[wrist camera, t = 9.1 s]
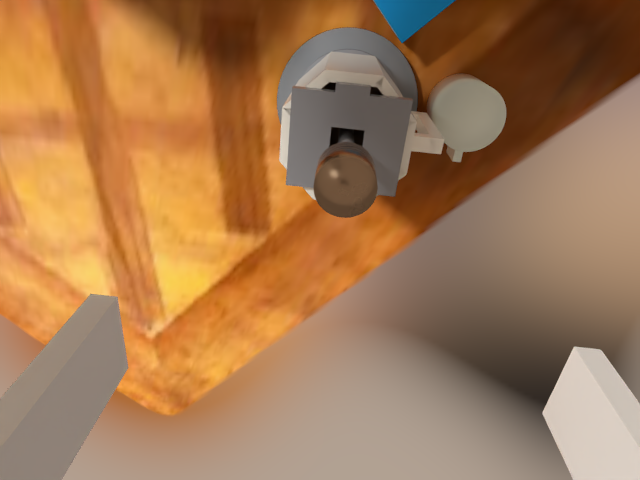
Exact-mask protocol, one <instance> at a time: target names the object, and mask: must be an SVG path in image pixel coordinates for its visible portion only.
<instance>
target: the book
mask: <svg viewBox="0 0 640 480" xmlns="http://www.w3.org/2000/svg"><path fill="white" fill-rule="evenodd" d="M373 1H374V3H375V4H376V6H377V7H378V9H379V10H380V12H381V13H382V15H383V17H384V18H385V20H386V21H387V23H388V24H389V26H390V27H391V29H392V30H393V32H394V33H395V35H396V36H397V37H398V38H399V40H400V41H401V43H403V42H404V41H406V40H407V39H408V38H409V37H411V36H412V35H413V34H414V33H416V32H417V31H418V30H419V29H421V28H422V27H423V26H424V25H425V24H427V23H428V22H429V21H430V20H432V19H433V18H434V17H435V16H437V15H438V14H439V13H440V12H442V11H443V10H444V9H445V8H447V7H448V6H449V5H450V4H452V3H453V2H454V1H455V0H373Z"/></svg>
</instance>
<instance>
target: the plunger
mask: <svg viewBox="0 0 640 480" xmlns="http://www.w3.org/2000/svg"><path fill="white" fill-rule="evenodd" d="M313 189H314V195H315V198H316V200H317V202H318V204H319V205H320V206H321V207H322V208H323V209H324V210H325V211H326V212H328V213H329V214H331V215H334V216H337V217H345V218H346V217H354V216H357V215H359V214H362V213H363V212H365V211H366V210H367V209H368V208H369V207H370V206H371V205H372V204H373V202H374V200H375V198H376V195H377V190H378V185H377V178H376V172H375V165H374V161H373V159H372V157H371V155H370V154H369V152H368V151H367V150H366V149H365V148H363V147H362V146H360V145H358V144H355V143H354V129H347V128H339V136H338V143H337V144H334V145H332V146H330V147H329V148H327V149H326V150H325V151H324V152H323V153H322V155H321V156H320V158H319V160H318V164H317V169H316V174H315V180H314V188H313Z"/></svg>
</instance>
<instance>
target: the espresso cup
mask: <svg viewBox="0 0 640 480" xmlns="http://www.w3.org/2000/svg"><path fill="white" fill-rule="evenodd" d="M427 114H428V116H429V117H430V119H431V120H432V122H433V123H434V124H435V126H436V127H437V129H438V130H439V132H440V133H441V135H442V136H443V138H444V143H445V144H446V145H447V146H448V147H447V151H446V152H447V154H448V155H449V157H450V159H451V160H452V161H453V162H461V159H462V155H463V152H472V151H477V150H480V149H482V148H484V147H486V146H488V145H489V144H490V143H492V142H493V141H494V140H495V139H496V138H497V137H498V135H499V134H500V133H501V131H502V129H503V127H504V124H505V121H506V105H505V102H504V100H503V98H502V96H501V95H500V94H499V93H498V92H497V91H496V90H495V89H494V88H492V87H490V86H489V85H487V84H486V83H484V82H482V81H481V80H479V79H478V78H476V77H474V76H472V75H469V74H464V73H459V74H453V75H450V76H448V77H446V78H444V79H442V80H441V81H440V82H438V83H437V84H436V86H435V87H434V88H433V89H432V91H431V93H430V95H429V97H428V101H427Z"/></svg>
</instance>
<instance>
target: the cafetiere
mask: <svg viewBox="0 0 640 480" xmlns="http://www.w3.org/2000/svg"><path fill="white" fill-rule="evenodd" d="M412 103H413V100H412V98H404V97H403V96H402V94H401V92H400V90H399V89H398V86H397V83H396V81H395V79H394V77H393V75H392V74H391V72H390V70H389V69H388V68H387V67H386V65H385V64H384V63H383V62H381V61H380V60H379V59H378V58H376V57H375V56H373V55H371V54H369V53H367V52H364V51H361V50H356V49H340V50H336V51H332V52H329V53H327V54H325V55H323V56H321V57H319V58H318V59H317V60H315V61H314V62H313V63H312V64H311V65H310V66H309V67H308V68H307V70H306V71H305V72H304V74H303V75H302V77H301V79H299V80H298V82H297V84H296V85H295V86H293V87H292V92H291V94H290V95H289V97H288V99H287V100H286V102H285V104H284V105H283V107H282V120H281V139H280V159H279V161H280V162H281V163H282V164H283V166H284V167H285V168H286V169H287V177H286V185H292V186H301V187H303V188H304V189H305V190H306V192H307V193H308V194H309V195H310V196H311V197H312V198H313V199H315V200H316V198H315V195H314V189H313V188H314V180H315V174H316V169H317V164H318V160H319V158H320V156H321V155H322V153H323V152H324V151H325V150H326V149H327V148H329V147H330V146H332V145H334V144H337V143H338V136H339V128H347V129H354V143H355V144H358V145H360V146H362V147H363V148H365V149H366V150H367V151H368V152H369V154H370V155H371V157H372V159H373V161H374V165H375V172H376V178H377V185H378V190H377V195H384V196H393V197H395V194H396V188H397V183H398V180H400V179H401V178H403V177H404V176H406V174H407V170H408V165H409V160H410V155H411V151H415V152H424V153H433V154H441V152H442V148H443V144H444V138H443V136H442V135H441V133H440V132H439V130H438V129H437V127H436V126H435V124H434V123H433V122H432V120H431V119H430V117H429V116H428V114H427V113H424V112H415V111H411V108H412ZM415 130H417V132H418V133H415ZM377 195H376V196H377Z"/></svg>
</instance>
